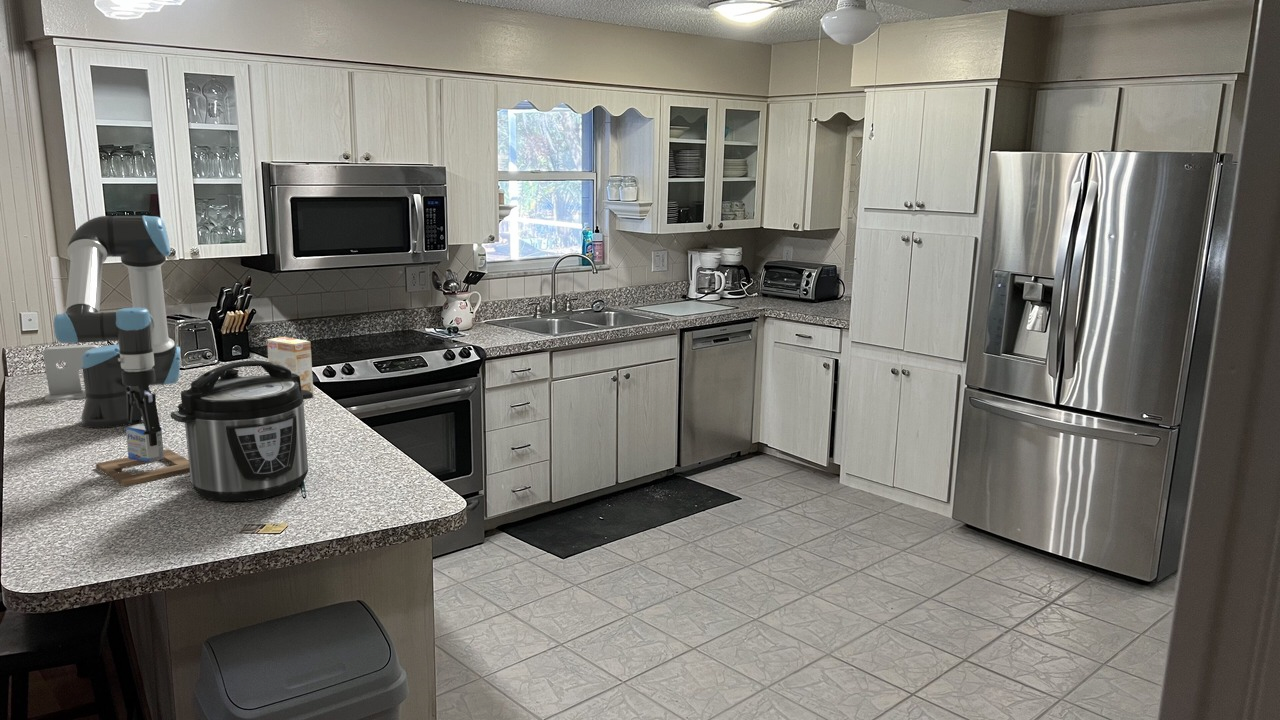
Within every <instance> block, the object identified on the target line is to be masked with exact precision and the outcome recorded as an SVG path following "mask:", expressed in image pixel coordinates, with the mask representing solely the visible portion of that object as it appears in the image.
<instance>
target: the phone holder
mask: <svg viewBox="0 0 1280 720" xmlns="http://www.w3.org/2000/svg"><path fill="white" fill-rule="evenodd" d="M98 347H99V346H98V345H97V344H93V343H92V344H77V345H60V346H48V347H46V348H44V350H42V358H43V362H44V363H43V364H44V369H45V375H46V380H47V385H48V386H47V387H48V392H47V393H45V397H44V401H46V402H50V401H51V402H52V401H62V400H65V401H66V400H74V399H75V398H76V399H83V398H82V397H86V394H85V389H82V383H81V378H80V377H81V375H80V370H81V369H82V355H83V354H84V353H85V352H86V351H88V350H91V349H94V348H98ZM59 362H62V363H64V364H65V366H64V367H63V368H60V367H58V366H57V364H58V363H59Z"/></svg>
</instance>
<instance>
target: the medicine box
mask: <svg viewBox="0 0 1280 720" xmlns="http://www.w3.org/2000/svg"><path fill="white" fill-rule="evenodd" d="M160 429H161V431H159V432H157V437H158V448H159V457H154V458H149V459H148V458H147V453H146V442H145V435H144V434H143V433H144V432H146V430H145V426H144V423H143V424H136V425H132V426H131V425H129V426H126V427H125V432H126V433H125V434H126V443H127V444H126V445H127V446H126V447H127V456H128V458H129V459H132V460H138V461H144V462H148V463H153V462H157V460H158V461H161V460H160V459H163V458H164V452H163V450H164V441H163V430H162V427H161V426H160Z"/></svg>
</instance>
